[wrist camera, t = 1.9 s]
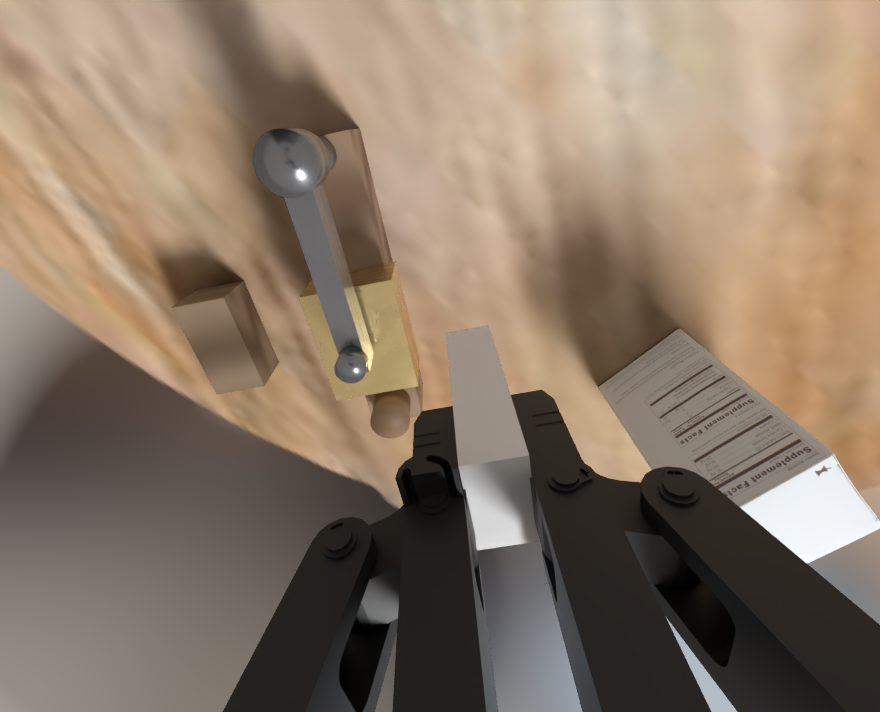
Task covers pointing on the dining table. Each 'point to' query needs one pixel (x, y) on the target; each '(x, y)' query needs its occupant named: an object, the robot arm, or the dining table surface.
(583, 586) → the robot arm
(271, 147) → the lever
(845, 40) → the dining table surface
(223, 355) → the block
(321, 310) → the gold metallic block
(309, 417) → the dining table surface
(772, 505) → the supplement box
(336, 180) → the body
